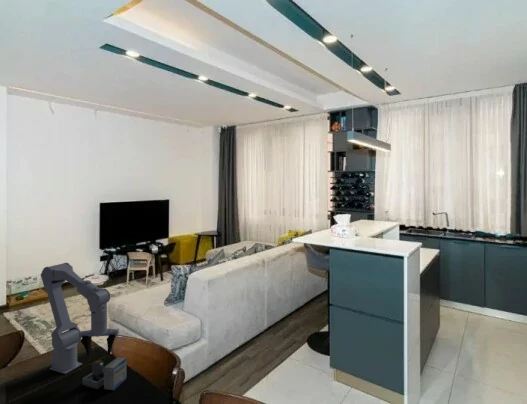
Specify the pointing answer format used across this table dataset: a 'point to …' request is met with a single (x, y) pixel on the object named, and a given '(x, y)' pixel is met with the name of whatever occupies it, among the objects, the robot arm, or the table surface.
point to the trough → (92, 382)
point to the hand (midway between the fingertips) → (99, 353)
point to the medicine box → (115, 373)
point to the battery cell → (97, 370)
